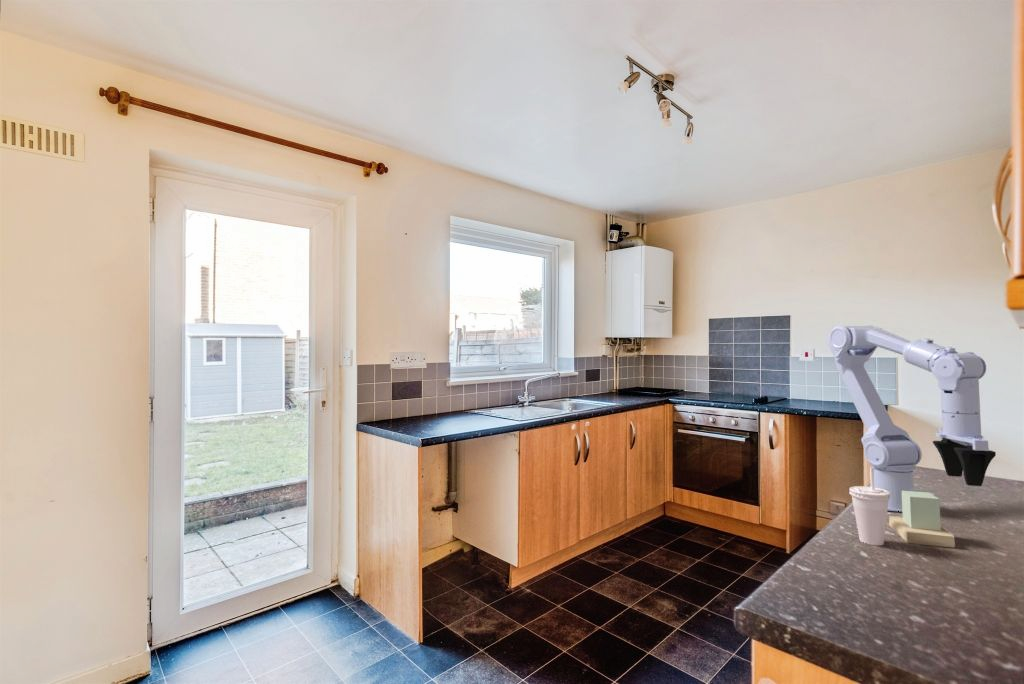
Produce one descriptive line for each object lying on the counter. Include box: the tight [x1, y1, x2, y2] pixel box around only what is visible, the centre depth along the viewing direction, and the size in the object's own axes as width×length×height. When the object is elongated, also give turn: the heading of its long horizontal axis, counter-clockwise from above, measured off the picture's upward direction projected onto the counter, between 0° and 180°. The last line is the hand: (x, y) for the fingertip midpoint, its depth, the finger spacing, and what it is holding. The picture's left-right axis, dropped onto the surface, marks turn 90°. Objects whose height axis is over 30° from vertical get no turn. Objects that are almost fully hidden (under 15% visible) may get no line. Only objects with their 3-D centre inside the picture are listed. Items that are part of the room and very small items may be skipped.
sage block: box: [901, 490, 942, 531], centre depth 94 cm, size 4×4×6 cm
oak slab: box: [888, 515, 956, 548], centre depth 94 cm, size 10×7×2 cm
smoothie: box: [848, 466, 891, 547], centre depth 92 cm, size 6×6×14 cm
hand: (963, 480), depth 97 cm, fingers open, 7 cm apart
